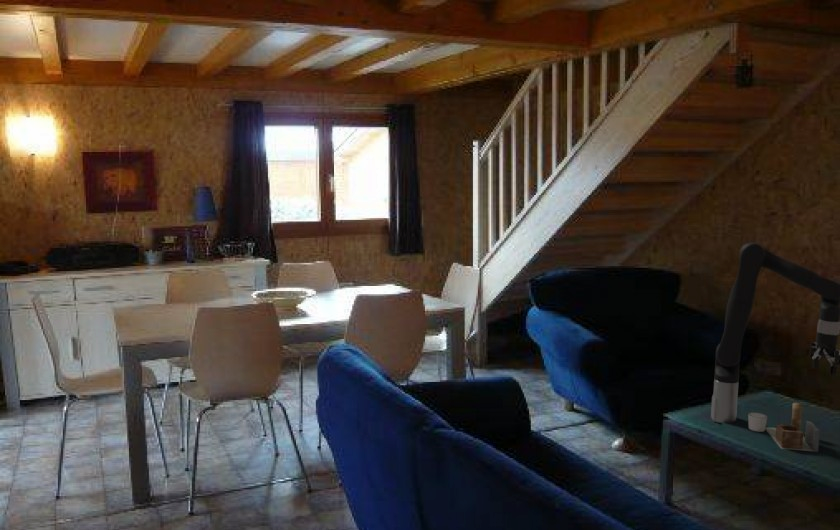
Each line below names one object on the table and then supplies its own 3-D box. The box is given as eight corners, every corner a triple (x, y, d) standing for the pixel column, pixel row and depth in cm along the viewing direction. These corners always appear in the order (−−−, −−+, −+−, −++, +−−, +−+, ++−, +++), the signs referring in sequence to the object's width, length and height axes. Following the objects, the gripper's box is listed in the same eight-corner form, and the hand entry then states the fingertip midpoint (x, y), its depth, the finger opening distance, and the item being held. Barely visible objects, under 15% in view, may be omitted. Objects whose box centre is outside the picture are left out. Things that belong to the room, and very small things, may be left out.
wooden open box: (781, 446, 255) (782, 431, 254) (775, 439, 262) (776, 423, 262) (802, 448, 253) (803, 432, 252) (795, 440, 261) (796, 425, 260)
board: (780, 451, 254) (780, 448, 254) (763, 429, 276) (764, 427, 276) (817, 454, 251) (818, 451, 251) (797, 432, 274) (798, 429, 273)
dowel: (792, 434, 268) (794, 404, 267) (789, 431, 271) (791, 402, 270) (801, 435, 267) (803, 405, 266) (798, 432, 270) (800, 403, 269)
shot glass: (765, 436, 269) (766, 419, 269) (745, 432, 273) (747, 415, 272) (766, 431, 275) (768, 414, 274) (748, 427, 279) (749, 410, 278)
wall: (813, 451, 252) (815, 430, 251) (804, 441, 261) (806, 420, 260) (818, 451, 251) (819, 430, 250) (809, 441, 261) (810, 421, 260)
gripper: (806, 327, 274) (802, 367, 276) (834, 336, 260) (829, 377, 263) (822, 327, 276) (818, 366, 278) (851, 335, 262) (846, 377, 264)
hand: (823, 372), depth 270 cm, fingers open, 8 cm apart
